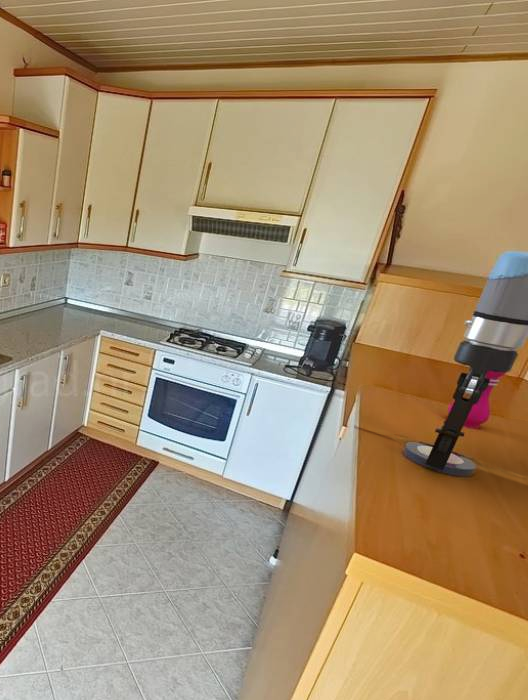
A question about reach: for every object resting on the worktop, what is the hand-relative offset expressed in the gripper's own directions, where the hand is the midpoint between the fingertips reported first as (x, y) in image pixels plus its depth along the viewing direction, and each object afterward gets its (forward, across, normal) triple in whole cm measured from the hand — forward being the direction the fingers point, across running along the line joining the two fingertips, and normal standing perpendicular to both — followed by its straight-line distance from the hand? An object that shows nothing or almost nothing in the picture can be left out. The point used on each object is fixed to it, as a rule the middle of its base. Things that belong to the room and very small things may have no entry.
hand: (434, 465), depth 91 cm
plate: (+1, -6, 0) cm, 6 cm away
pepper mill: (+1, -36, +2) cm, 36 cm away
